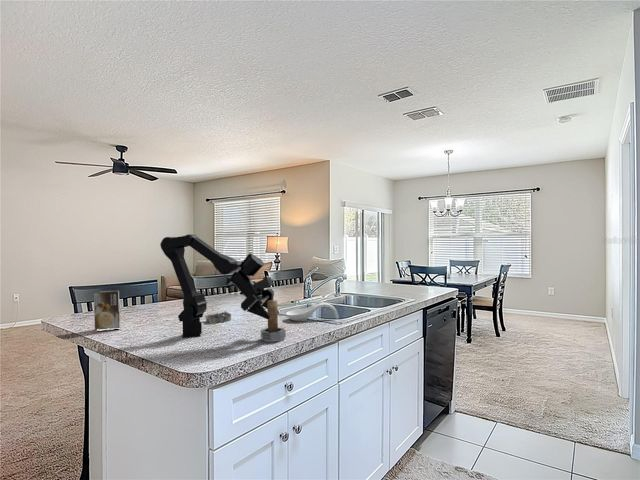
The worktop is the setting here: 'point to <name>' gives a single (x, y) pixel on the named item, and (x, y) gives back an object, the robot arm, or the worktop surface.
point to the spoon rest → (308, 312)
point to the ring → (273, 335)
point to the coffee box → (106, 309)
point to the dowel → (272, 316)
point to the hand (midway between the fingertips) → (273, 315)
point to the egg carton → (218, 317)
